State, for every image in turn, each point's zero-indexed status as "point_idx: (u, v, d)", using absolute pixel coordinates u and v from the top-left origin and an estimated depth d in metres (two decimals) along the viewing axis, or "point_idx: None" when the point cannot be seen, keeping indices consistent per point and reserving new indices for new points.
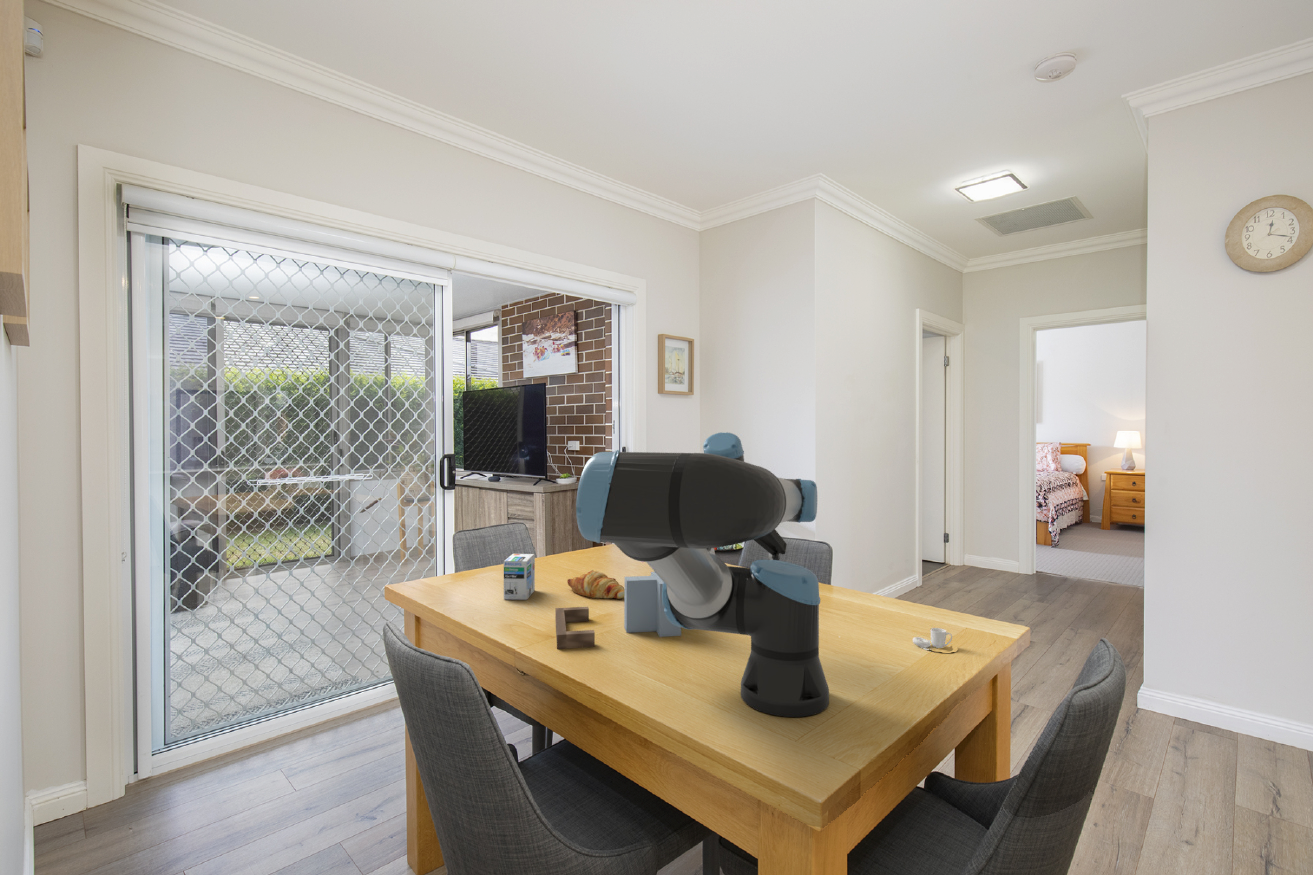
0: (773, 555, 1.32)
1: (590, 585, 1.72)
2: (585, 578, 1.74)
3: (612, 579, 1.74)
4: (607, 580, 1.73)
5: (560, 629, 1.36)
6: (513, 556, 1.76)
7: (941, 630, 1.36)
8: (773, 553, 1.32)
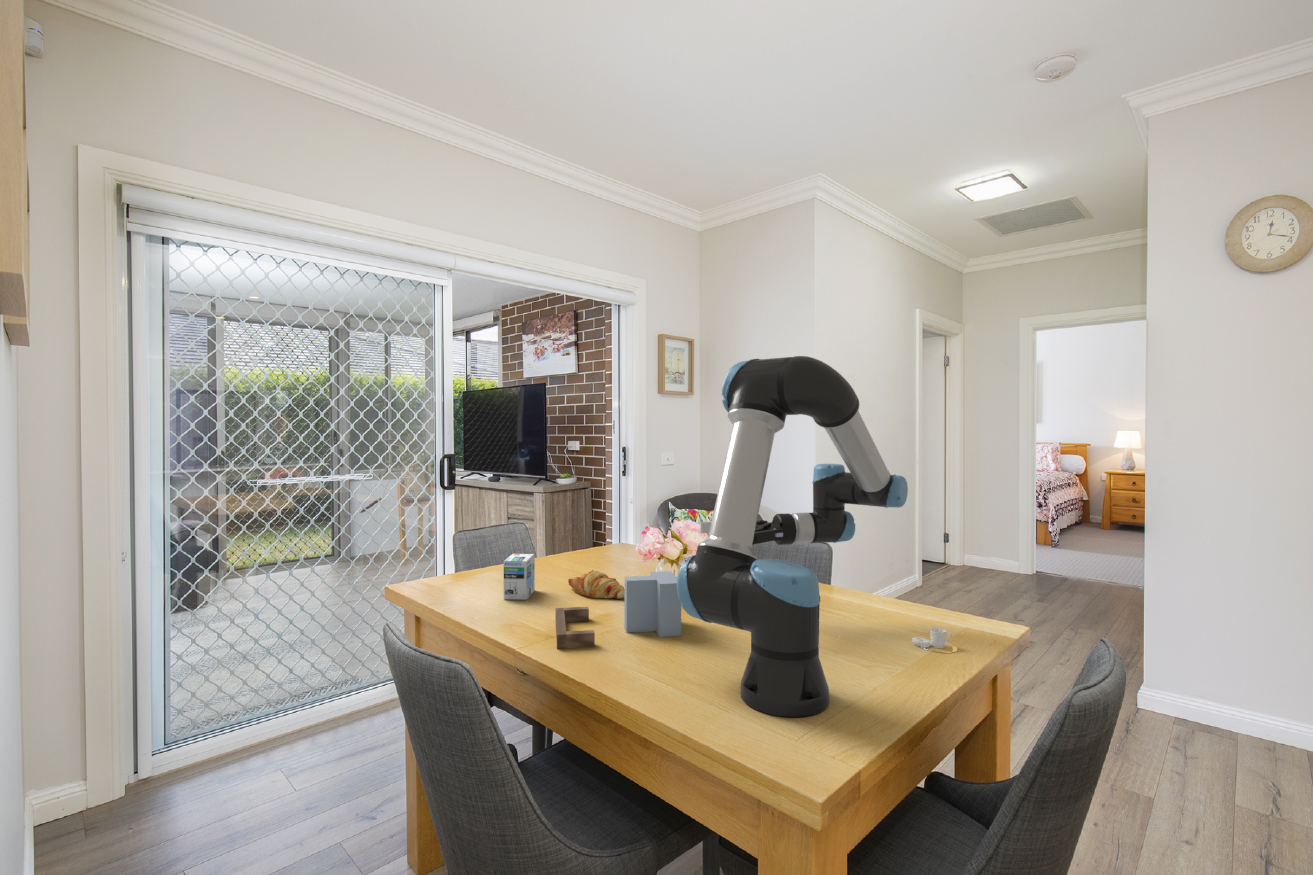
0: None
1: (590, 585, 1.72)
2: (585, 578, 1.74)
3: (612, 579, 1.74)
4: (607, 580, 1.73)
5: (560, 629, 1.36)
6: (513, 556, 1.76)
7: (941, 630, 1.36)
8: None
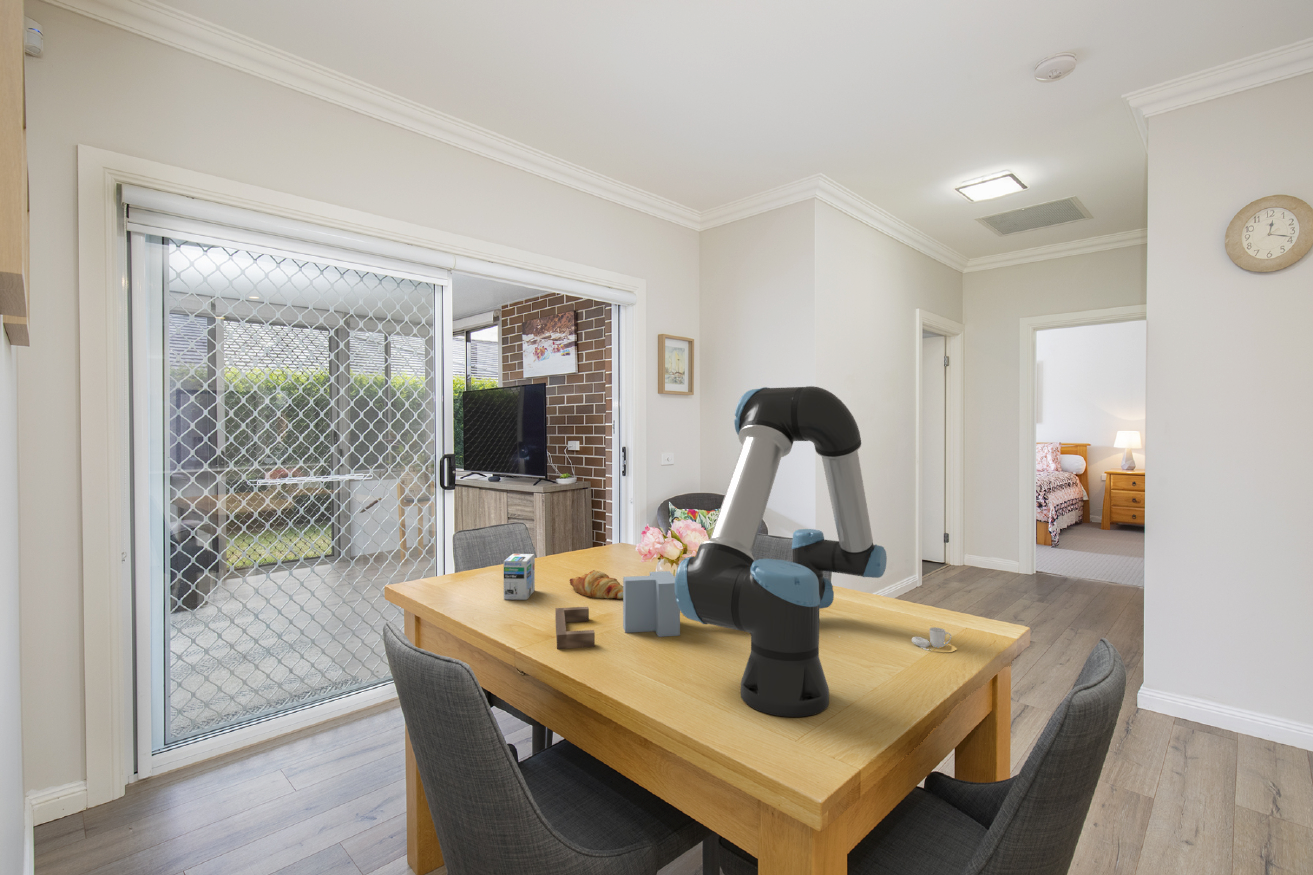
0: None
1: (591, 585, 1.73)
2: (586, 578, 1.74)
3: (613, 579, 1.75)
4: (608, 580, 1.73)
5: (560, 629, 1.36)
6: (513, 556, 1.76)
7: (940, 629, 1.36)
8: None
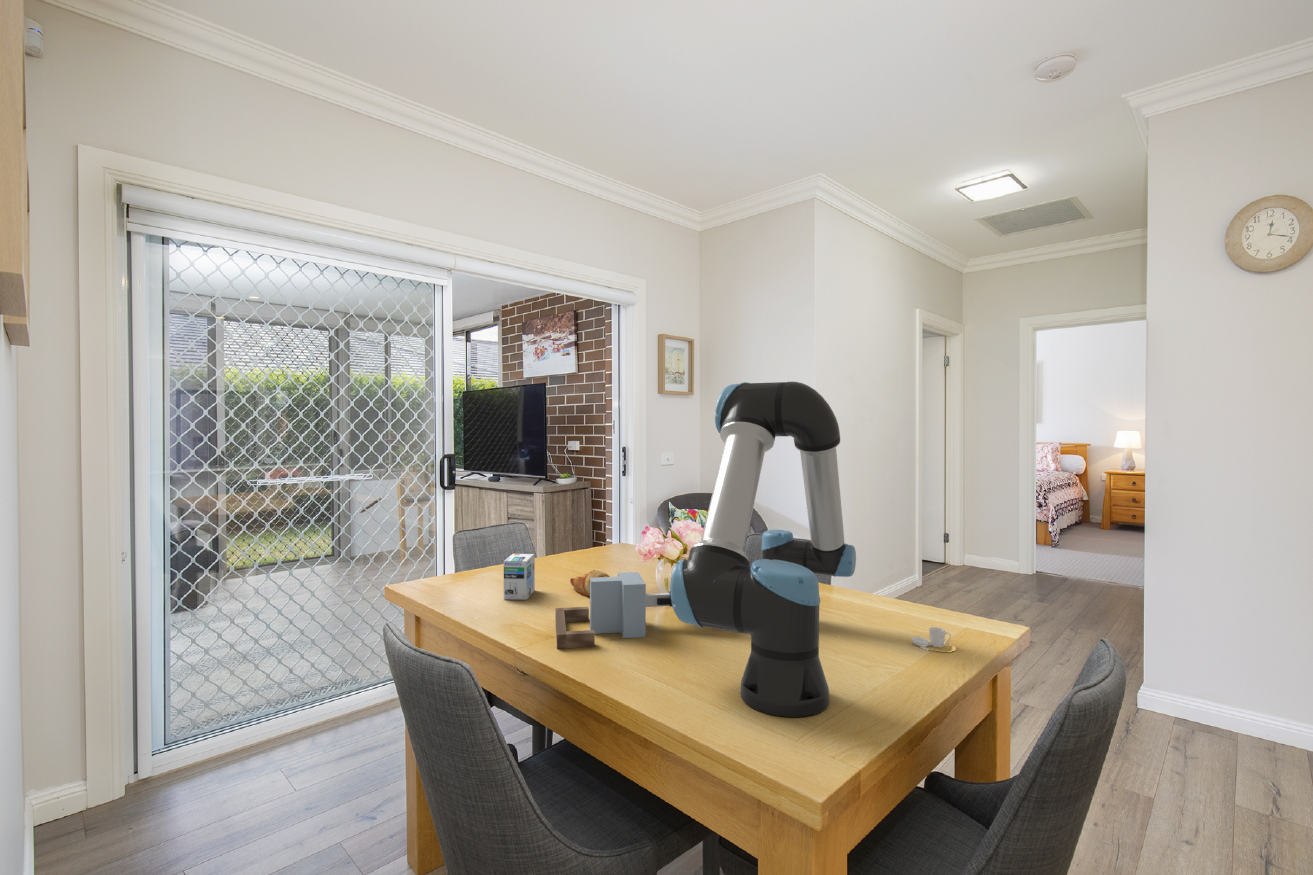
0: None
1: None
2: (586, 577, 1.75)
3: None
4: None
5: (560, 629, 1.36)
6: (513, 556, 1.76)
7: (940, 629, 1.36)
8: None
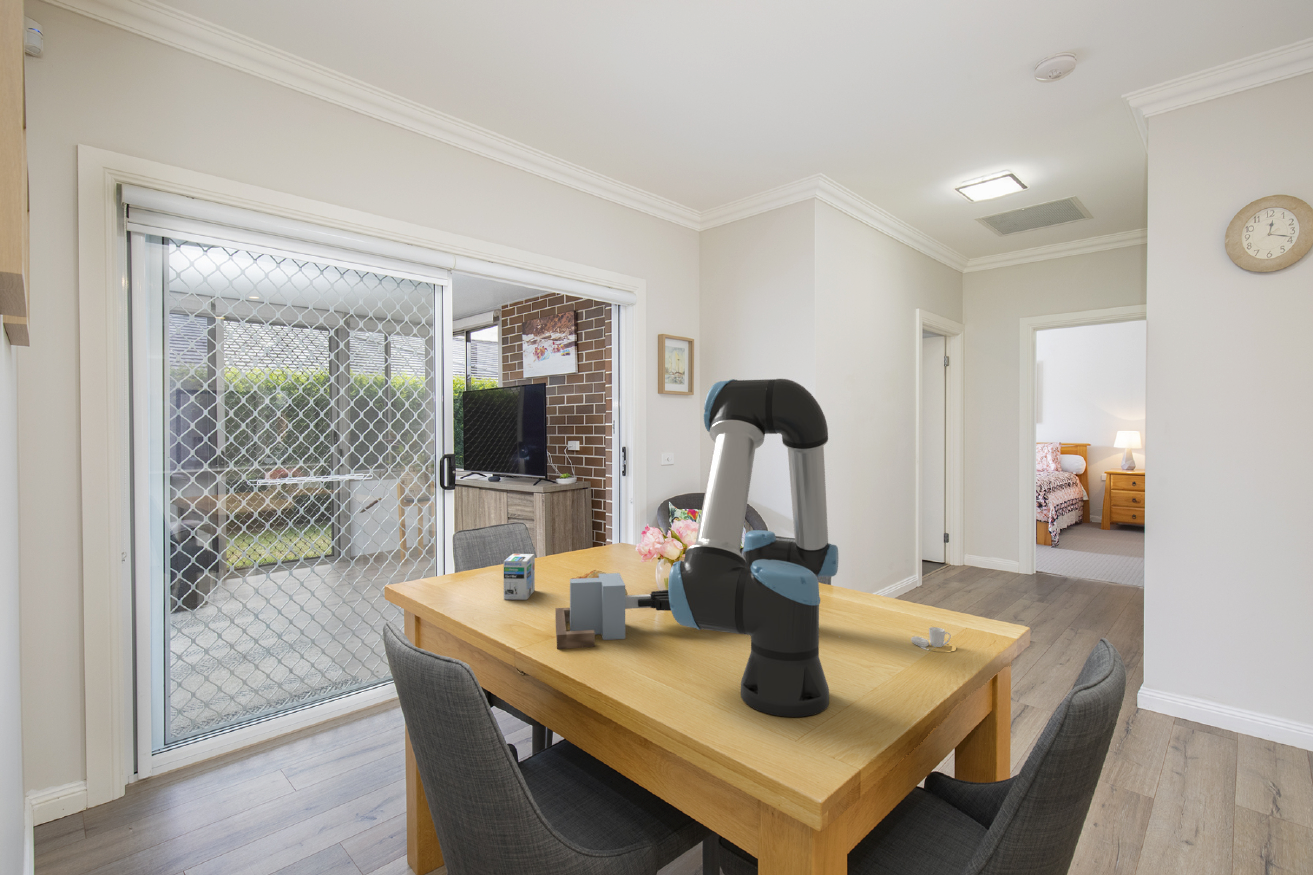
0: None
1: None
2: (587, 577, 1.75)
3: None
4: None
5: (560, 629, 1.36)
6: (513, 556, 1.76)
7: (940, 629, 1.36)
8: (655, 596, 1.45)
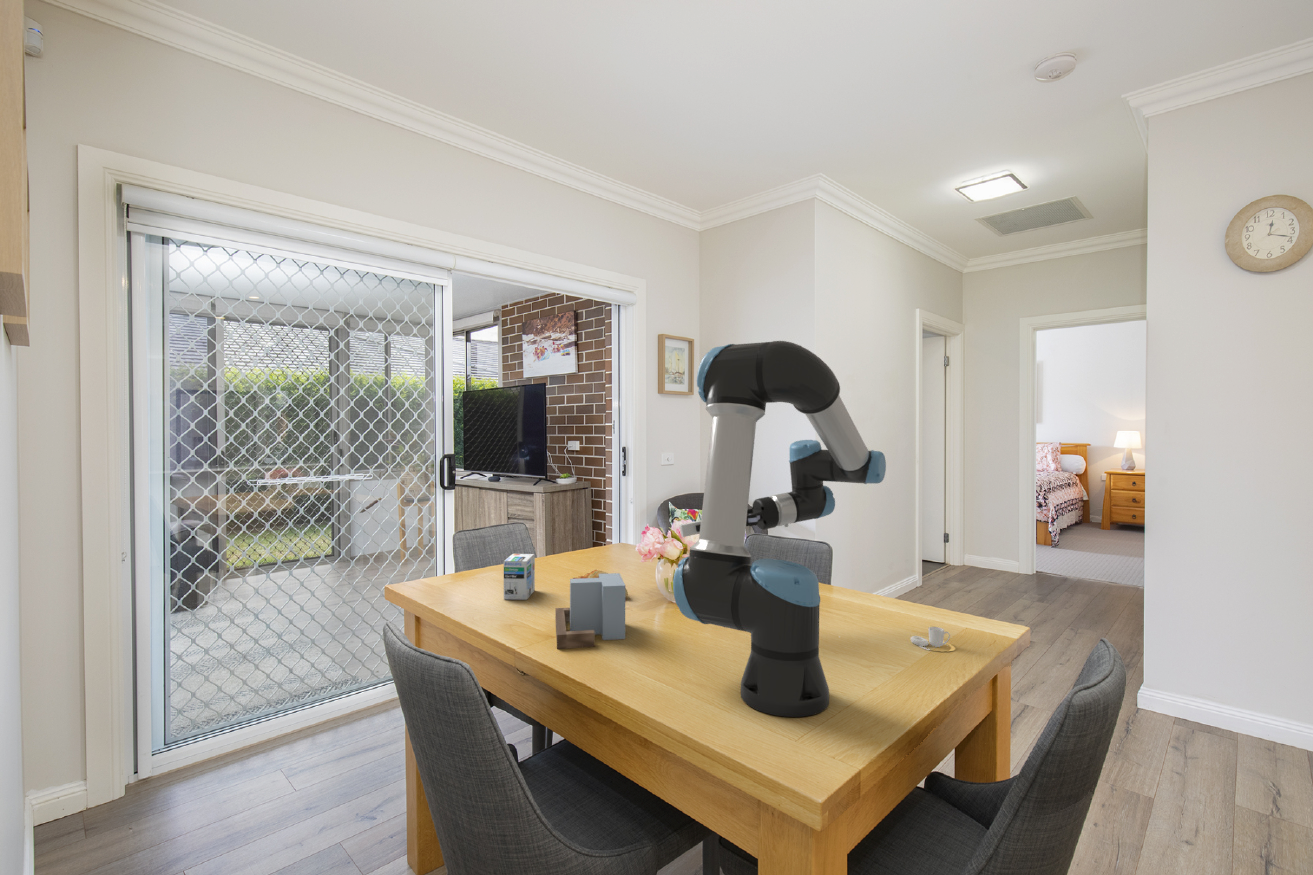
0: None
1: None
2: (588, 577, 1.75)
3: None
4: None
5: (560, 629, 1.36)
6: (513, 556, 1.76)
7: (939, 629, 1.36)
8: None
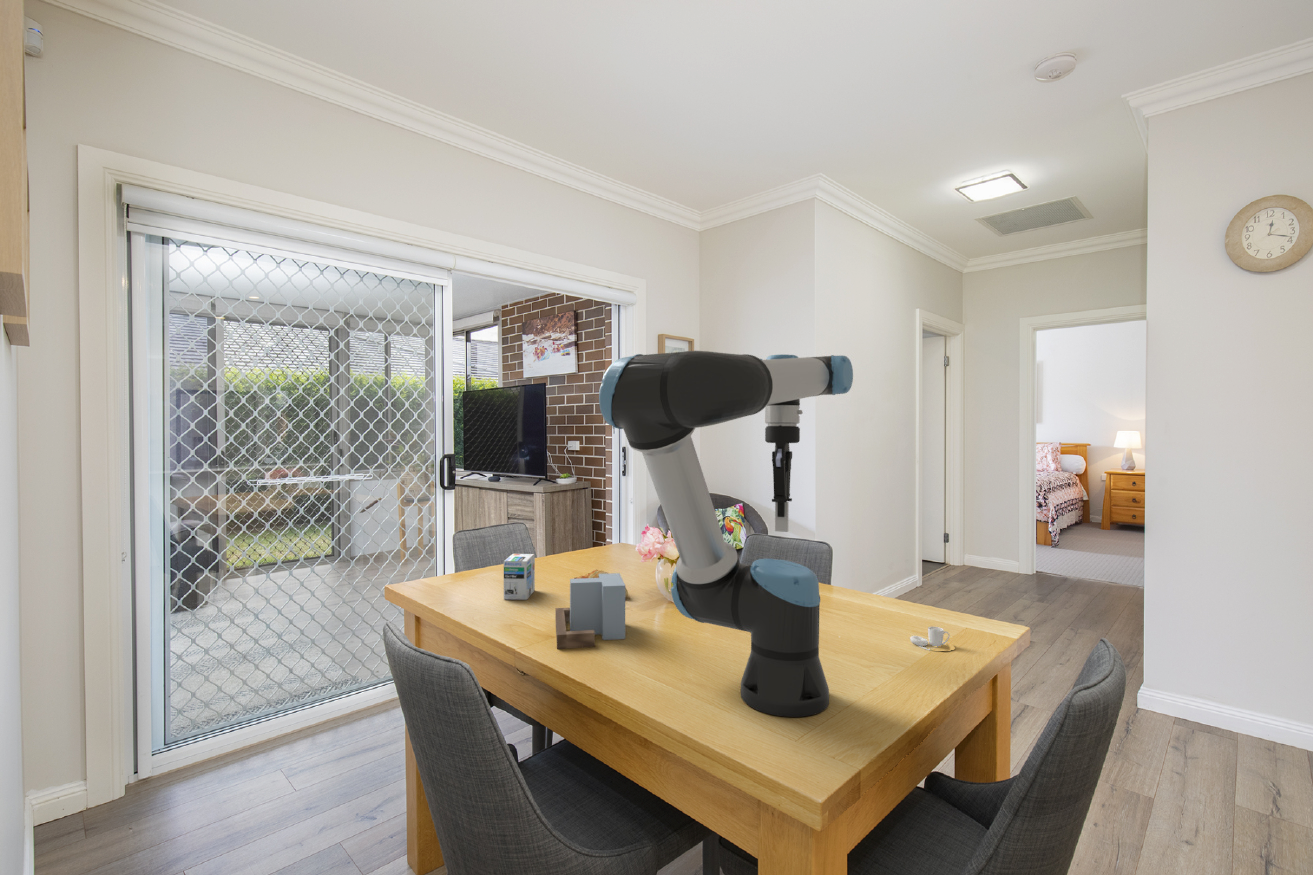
0: (774, 499, 1.38)
1: None
2: (588, 577, 1.75)
3: None
4: None
5: (560, 629, 1.36)
6: (513, 556, 1.76)
7: (938, 629, 1.36)
8: None
